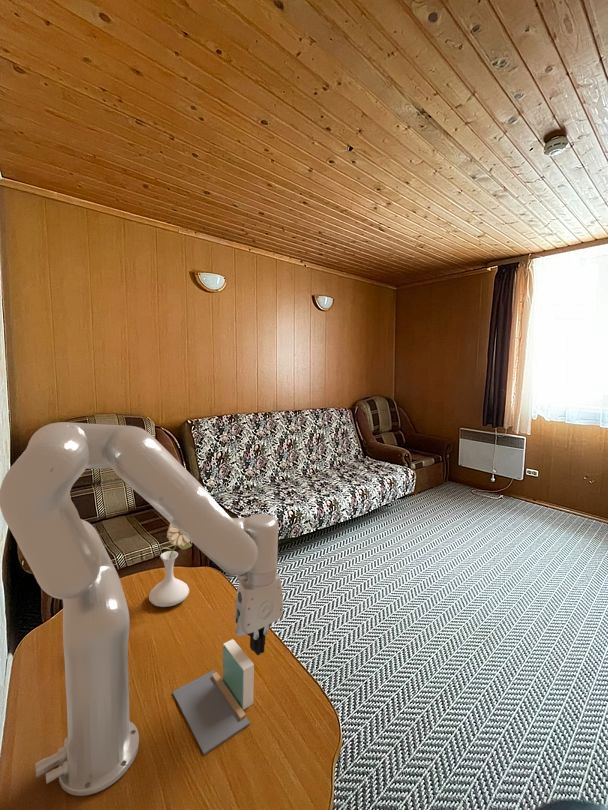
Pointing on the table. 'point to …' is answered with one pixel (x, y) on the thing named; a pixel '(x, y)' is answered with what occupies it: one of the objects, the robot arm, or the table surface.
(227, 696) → the charcoal mat
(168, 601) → the flower in vase
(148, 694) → the table surface
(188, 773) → the table surface
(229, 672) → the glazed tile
